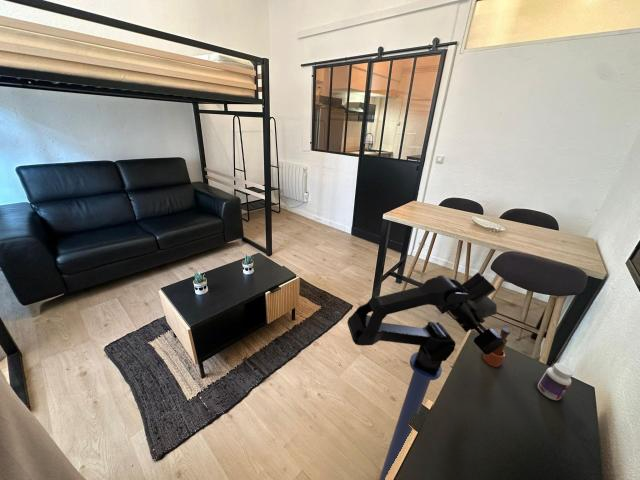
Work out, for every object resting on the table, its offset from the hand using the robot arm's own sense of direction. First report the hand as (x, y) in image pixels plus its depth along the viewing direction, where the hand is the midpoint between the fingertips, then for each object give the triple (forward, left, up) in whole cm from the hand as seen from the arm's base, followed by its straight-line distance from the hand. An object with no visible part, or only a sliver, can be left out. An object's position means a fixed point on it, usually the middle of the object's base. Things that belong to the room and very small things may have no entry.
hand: (481, 336), depth 78 cm
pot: (+6, +5, -11) cm, 14 cm away
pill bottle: (+21, +2, -11) cm, 24 cm away
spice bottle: (+6, +5, -11) cm, 13 cm away
